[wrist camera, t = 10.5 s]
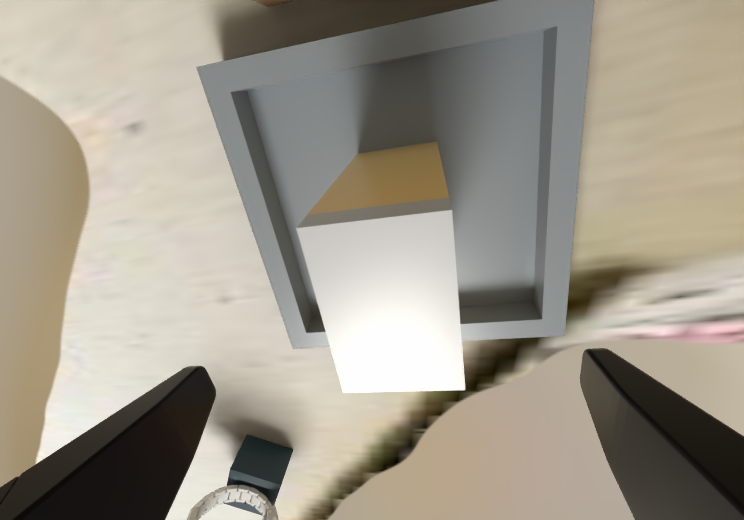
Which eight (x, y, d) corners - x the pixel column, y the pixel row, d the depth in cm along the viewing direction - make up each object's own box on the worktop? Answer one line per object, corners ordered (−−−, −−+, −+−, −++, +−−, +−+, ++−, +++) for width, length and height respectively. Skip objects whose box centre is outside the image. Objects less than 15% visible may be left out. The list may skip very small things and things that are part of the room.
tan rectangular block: (436, 141, 17) (452, 209, 9) (446, 251, 20) (465, 389, 11) (357, 153, 18) (296, 228, 9) (376, 257, 21) (343, 392, 12)
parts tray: (570, -7, 15) (595, -22, 13) (550, 309, 22) (564, 335, 20) (224, 67, 18) (196, 67, 16) (304, 324, 25) (293, 349, 23)
